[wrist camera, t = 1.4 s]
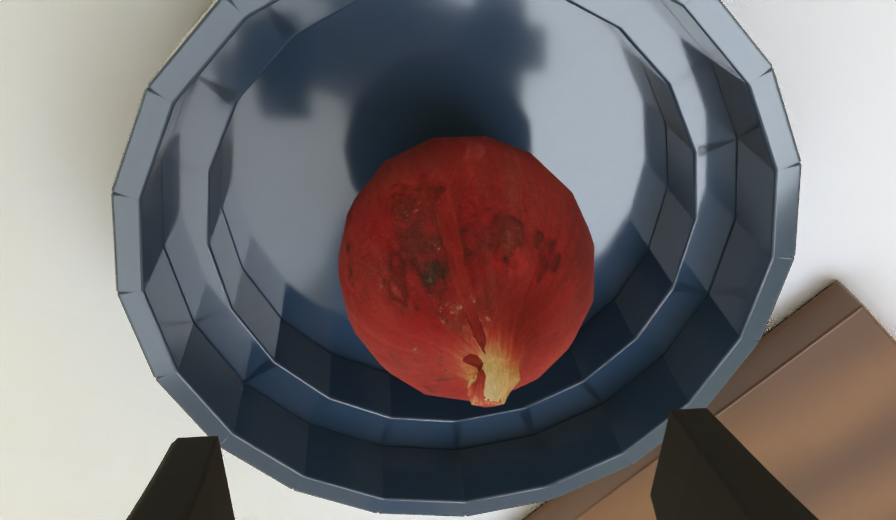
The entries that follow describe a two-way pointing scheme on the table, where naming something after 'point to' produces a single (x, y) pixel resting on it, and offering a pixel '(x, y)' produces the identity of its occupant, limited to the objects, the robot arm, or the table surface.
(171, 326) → the bowl
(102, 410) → the table surface
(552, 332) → the onion
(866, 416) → the board
